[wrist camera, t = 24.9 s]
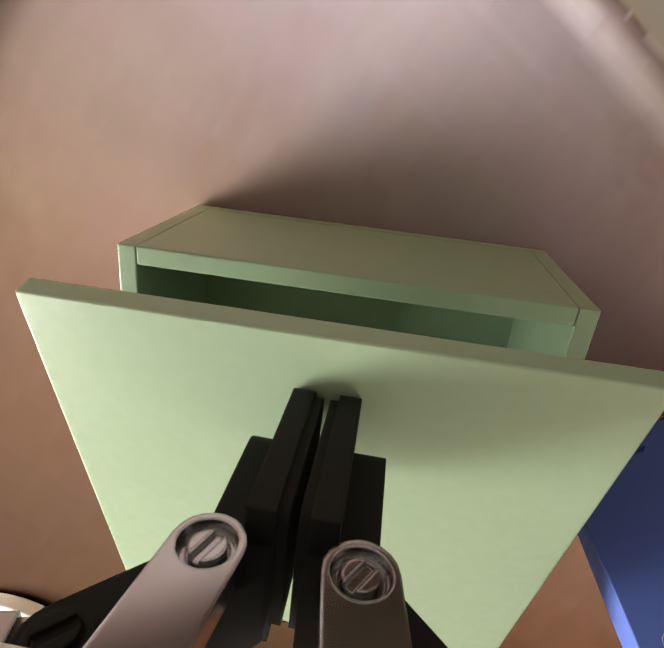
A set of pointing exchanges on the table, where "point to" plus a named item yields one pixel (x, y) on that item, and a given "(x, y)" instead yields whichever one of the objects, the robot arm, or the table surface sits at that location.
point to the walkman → (632, 546)
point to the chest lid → (372, 437)
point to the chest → (363, 278)
